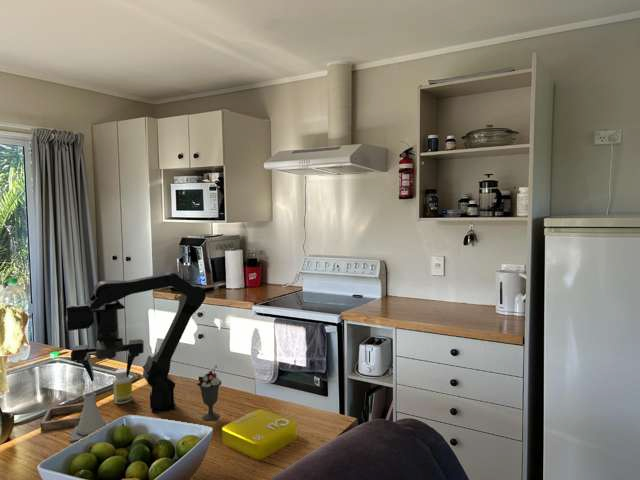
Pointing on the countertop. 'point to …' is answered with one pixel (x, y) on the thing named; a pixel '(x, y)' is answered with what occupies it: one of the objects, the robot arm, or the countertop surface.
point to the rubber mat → (77, 436)
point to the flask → (90, 416)
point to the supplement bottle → (122, 387)
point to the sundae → (209, 393)
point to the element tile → (259, 433)
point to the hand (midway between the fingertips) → (110, 378)
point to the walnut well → (62, 422)
